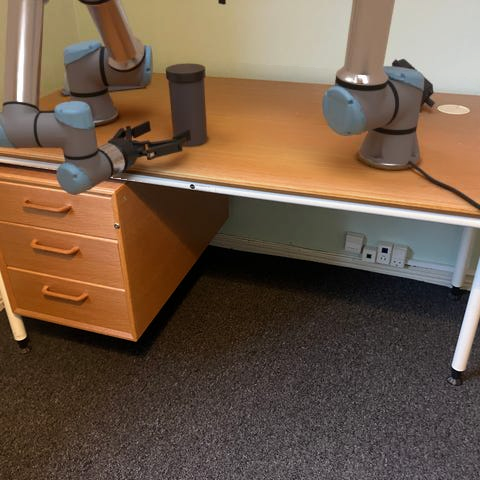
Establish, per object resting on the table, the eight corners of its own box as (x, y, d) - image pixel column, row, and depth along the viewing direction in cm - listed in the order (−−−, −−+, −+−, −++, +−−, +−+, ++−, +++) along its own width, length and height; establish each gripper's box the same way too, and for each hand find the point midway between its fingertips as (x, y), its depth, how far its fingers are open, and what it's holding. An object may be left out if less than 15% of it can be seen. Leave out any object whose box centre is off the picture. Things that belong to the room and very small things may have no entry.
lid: (213, 74, 145) (212, 66, 144) (190, 84, 137) (190, 75, 136) (181, 70, 150) (181, 61, 148) (158, 79, 142) (157, 70, 141)
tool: (374, 89, 181) (400, 53, 170) (416, 126, 177) (445, 91, 166) (365, 93, 177) (391, 56, 166) (408, 131, 173) (438, 96, 162)
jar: (213, 137, 154) (210, 67, 144) (194, 148, 147) (189, 76, 137) (186, 132, 159) (181, 63, 148) (166, 142, 152) (160, 72, 141)
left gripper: (80, 161, 135) (135, 135, 151) (156, 182, 124) (207, 151, 139) (74, 133, 131) (131, 109, 147) (153, 152, 120) (206, 124, 135)
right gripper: (275, -90, 143) (273, -4, 155) (192, -88, 133) (197, 4, 144) (291, -90, 138) (288, -1, 149) (205, -88, 127) (210, 7, 139)
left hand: (168, 130), depth 143 cm, fingers open, 13 cm apart
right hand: (243, 1), depth 147 cm, fingers open, 13 cm apart
